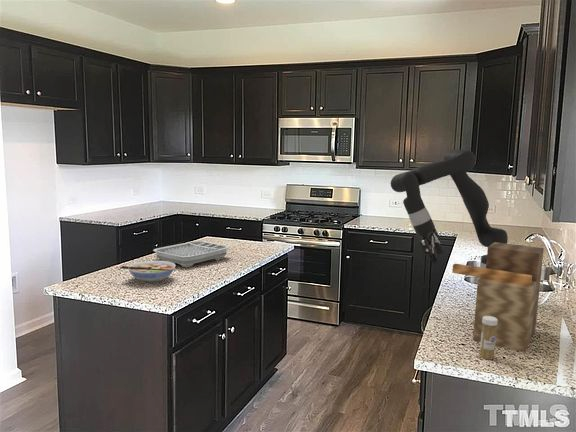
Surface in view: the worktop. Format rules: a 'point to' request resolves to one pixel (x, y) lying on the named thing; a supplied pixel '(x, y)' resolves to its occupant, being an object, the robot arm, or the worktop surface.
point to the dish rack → (191, 252)
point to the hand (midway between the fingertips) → (438, 257)
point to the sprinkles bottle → (488, 337)
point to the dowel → (492, 274)
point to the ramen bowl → (150, 270)
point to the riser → (510, 295)
